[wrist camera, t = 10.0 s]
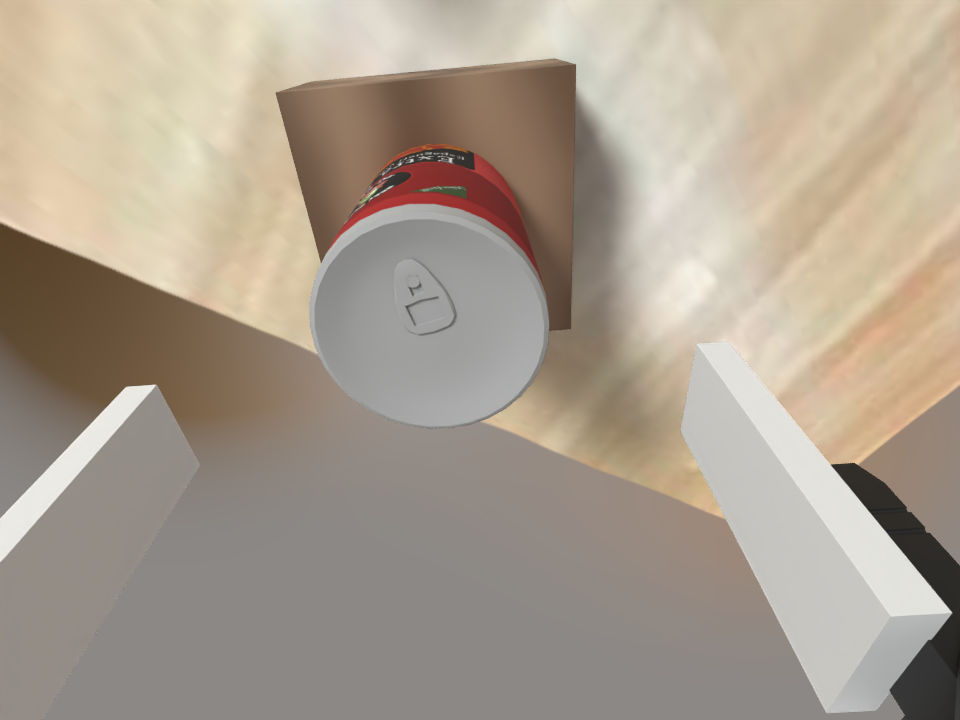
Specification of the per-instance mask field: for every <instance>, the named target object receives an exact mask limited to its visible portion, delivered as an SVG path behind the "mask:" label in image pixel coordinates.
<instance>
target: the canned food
mask: <svg viewBox="0 0 960 720" xmlns="http://www.w3.org/2000/svg"><path fill="white" fill-rule="evenodd" d="M309 308H310V328H311V333H312V337H313V341H314V345H315V348H316V350H317V352H318V354H319V356H320V359H321V361H322V363H323V365H324V367H325V368H326V369H327V371H328V372H329V374H330V375H331V377H332V378H333V379H334V381H335V382H336V384H338V385H339V386H340V387H341V388H342V389H343V390H344V391H345V392H346V393H347V394H348V395H349V396H350V397H351V398H352V399H353V400H355V401H356V402H358V403H359V404H361V405H362V406H363V407H365V408H366V409H368V410H369V411H371V412H373V413H375V414H378V415H380V416H382V417H384V418H386V419H388V420H391V421H394V422H398V423H401V424H404V425H408V426H413V427H421V428H428V429H438V428H439V429H441V428H442V429H443V428H455V427H461V426H466V425H471V424H474V423H477V422H479V421H482V420H485V419H488V418H490V417H492V416H494V415H495V414H497V413H499V412H501V411H502V410H504V409H506V408H507V407H508V406H510V405H511V404H512V403H513V402H514V401H516V400H517V399H518V398H519V397H520V396H521V395H522V394H523V393H524V392H525V390H526V389H527V388H528V387H529V386H530V384H531V383H532V382H533V381H534V379H535V377H536V375H537V373H538V371H539V369H540V367H541V365H542V363H543V360H544V357H545V353H546V349H547V346H548V337H549V312H548V306H547V300H546V294H545V290H544V287H543V284H542V278H541V275H540V272H539V269H538V266H537V263H536V260H535V257H534V254H533V251H532V248H531V245H530V242H529V238H528V235H527V232H526V229H525V226H524V223H523V220H522V217H521V214H520V211H519V208H518V205H517V203H516V200H515V197H514V195H513V192H512V190H511V189H510V187H509V185H508V184H507V182H506V181H505V179H504V177H503V176H502V175H501V174H500V173H499V172H498V171H497V170H496V169H495V168H494V167H493V166H492V165H491V164H490V163H489V162H487V161H486V160H484V159H483V158H482V157H480V156H479V155H477V154H475V153H473V152H471V151H468V150H466V149H464V148H461V147H456V146H452V145H447V144H427V145H423V146H418V147H414V148H411V149H409V150H407V151H405V152H403V153H401V154H398V155H397V156H395V157H394V158H393V159H392V160H390V161H389V162H388V163H387V164H385V165H384V167H383V168H382V169H381V170H380V172H379V173H378V174H377V175H376V177H375V178H374V179H373V181H372V182H371V184H370V185H369V187H368V189H367V190H366V192H365V193H364V195H363V196H362V198H361V199H360V201H359V202H358V204H357V205H356V207H355V208H354V210H353V211H352V213H351V214H350V216H349V217H348V219H347V221H346V222H345V224H344V225H343V227H342V228H341V230H340V231H339V233H338V234H337V236H336V237H335V239H334V240H333V242H332V245H331V246H330V248H329V250H328V251H327V253H326V255H325V257H324V259H323V261H322V263H321V265H320V267H319V270H318V272H317V274H316V279H315V281H314V284H313V289H312V294H311V299H310V303H309Z"/></svg>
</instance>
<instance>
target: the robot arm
mask: <svg viewBox="0 0 960 720" xmlns="http://www.w3.org/2000/svg"><path fill="white" fill-rule="evenodd" d="M680 432H681V434H682V436H683V438H684V439H685V441H686V443H687V445H688V447H689V449H690V451H691V453H692V455H693V457H694V459H695V461H696V463H697V465H698V466H699V468H700V470H701V472H702V474H703V476H704V478H705V480H706V482H707V484H708V486H709V488H710V490H711V491H712V493H713V495H714V497H715V499H716V501H717V503H718V505H719V507H720V509H721V511H722V513H723V515H724V517H725V518H726V520H727V522H728V524H729V526H730V528H731V530H732V532H733V534H734V536H735V538H736V540H737V542H738V544H739V545H740V547H741V549H742V551H743V553H744V555H745V557H746V559H747V561H748V563H749V565H750V567H751V568H752V570H753V572H754V574H755V576H756V578H757V580H758V582H759V584H760V586H761V588H762V590H763V592H764V594H765V596H766V597H767V599H768V601H769V603H770V605H771V607H772V609H773V611H774V613H775V615H776V617H777V619H778V621H779V623H780V624H781V626H782V628H783V630H784V632H785V634H786V636H787V638H788V640H789V642H790V644H791V646H792V647H793V650H794V651H795V653H796V655H797V657H798V659H799V661H800V663H801V665H802V667H803V669H804V671H805V673H806V675H807V677H808V678H809V680H810V682H811V684H812V686H813V688H814V690H815V692H816V694H817V696H818V697H819V700H820V702H821V703H822V705H823V707H824V709H825V711H826V713H836V712H856V711H874V710H877V709H878V707H879V706H880V705H881V703H882V702H883V701H884V700H885V698H886V697H887V696H888V695H889V693H890V692H891V694H892V695H893V697H894V699H895V700H896V702H897V703H898V705H899V706H900V708H901V710H902V711H903V713H904V714H905V716H904V717H903V719H902V720H960V566H959V564H958V563H957V562H956V561H955V560H954V559H953V558H952V557H951V556H950V554H949V553H948V552H947V551H946V550H945V549H944V548H943V547H942V546H941V545H940V543H939V542H938V541H937V540H936V539H935V538H934V537H933V536H932V535H931V534H930V533H927V532H926V531H925V527H924V526H923V525H922V524H921V523H920V521H919V520H918V519H917V518H916V517H915V516H914V515H913V514H912V513H911V512H907V509H906V508H907V507H906V506H905V505H904V504H903V503H902V502H901V500H900V499H899V498H898V497H897V496H896V495H895V494H894V493H893V492H892V491H891V489H890V488H889V487H888V486H887V485H886V484H885V483H884V482H882V481H881V480H879V479H878V478H876V477H875V476H873V475H872V474H870V473H869V472H867V471H866V470H864V469H863V468H861V467H860V466H858V465H857V464H855V463H848V464H833V465H830V464H829V462H828V461H827V460H826V459H825V458H824V456H823V455H822V454H821V453H820V451H819V450H818V449H817V448H816V447H815V445H814V444H813V443H812V442H811V441H810V439H809V438H808V437H807V436H806V434H805V433H804V432H803V431H802V430H801V428H800V427H799V426H798V425H797V423H796V422H795V421H794V420H793V419H792V417H791V416H790V415H789V414H788V413H787V411H786V410H785V409H784V408H783V406H782V405H781V404H780V403H779V402H778V400H777V399H776V398H775V397H774V396H773V394H772V393H771V392H770V391H769V389H768V388H767V387H766V386H765V385H764V383H763V382H762V381H761V380H760V379H759V377H758V376H757V375H756V374H755V372H754V371H753V370H752V369H751V368H750V366H749V365H748V364H747V363H746V361H745V360H744V359H743V358H742V357H741V355H740V354H739V353H738V352H737V351H736V349H735V348H734V347H733V346H732V344H731V343H730V342H716V343H703V344H696V349H695V355H694V360H693V365H692V371H691V376H690V382H689V387H688V393H687V398H686V404H685V409H684V414H683V420H682V425H681V431H680ZM199 466H200V464H199V463H198V461H197V459H196V457H195V455H194V453H193V451H192V450H191V448H190V446H189V444H188V443H187V440H186V438H185V436H184V435H183V433H182V431H181V429H180V427H179V425H178V424H177V422H176V420H175V418H174V416H173V414H172V412H171V410H170V409H169V407H168V405H167V403H166V401H165V399H164V397H163V396H162V394H161V392H160V390H159V388H158V386H157V385H147V386H133V387H126V388H125V389H124V390H123V391H122V392H121V393H120V394H119V395H118V396H117V397H116V398H115V399H114V400H113V401H112V403H111V404H110V405H109V406H108V407H107V408H106V409H105V410H104V411H103V412H102V413H101V414H100V415H99V416H98V417H97V418H96V419H95V420H94V421H93V423H92V424H90V425H89V426H88V428H87V429H86V430H85V431H84V432H83V433H82V434H81V435H80V436H79V437H78V438H77V439H76V440H75V441H74V442H73V443H72V444H71V445H70V446H69V448H67V450H65V452H64V453H63V454H62V455H61V456H60V457H59V458H58V459H57V460H56V461H55V462H54V463H53V464H52V465H51V466H50V467H49V468H48V469H47V470H46V471H45V472H44V473H43V475H42V476H41V477H40V478H39V479H38V480H37V481H36V482H35V483H34V484H33V485H32V486H31V487H30V488H29V489H28V490H27V491H26V492H25V493H24V494H23V495H22V496H21V498H20V499H19V500H18V501H17V502H16V503H15V504H14V505H13V506H12V507H11V508H10V509H9V510H8V511H7V512H6V513H5V514H4V515H3V516H2V517H1V518H0V720H43V718H44V716H45V715H46V713H47V711H48V710H49V708H50V707H51V705H52V703H53V702H54V700H55V699H56V697H57V695H58V694H59V692H60V690H61V689H62V687H63V686H64V684H65V682H66V681H67V679H68V677H69V676H70V674H71V673H72V671H73V670H74V668H75V666H76V665H77V663H78V661H79V660H80V658H81V657H82V655H83V653H84V652H85V650H86V648H87V647H88V645H89V644H90V642H91V640H92V639H93V637H94V635H95V634H96V632H97V631H98V629H99V627H100V626H101V624H102V623H103V621H104V619H105V618H106V616H107V615H108V613H109V611H110V610H111V608H112V606H113V605H114V603H115V602H116V600H117V598H118V597H119V595H120V593H121V592H122V590H123V589H124V587H125V585H126V584H127V582H128V581H129V579H130V577H131V576H132V574H133V572H134V571H135V569H136V567H137V566H138V564H139V563H140V561H141V560H142V558H143V556H144V555H145V553H146V552H147V550H148V548H149V547H150V545H151V543H152V542H153V540H154V539H155V537H156V535H157V534H158V532H159V531H160V529H161V527H162V526H163V524H164V522H165V521H166V519H167V517H168V516H169V514H170V513H171V511H172V510H173V508H174V506H175V505H176V503H177V501H178V500H179V498H180V497H181V495H182V493H183V492H184V490H185V488H186V487H187V485H188V484H189V482H190V480H191V479H192V477H193V475H194V474H195V472H196V471H197V469H198V467H199Z"/></svg>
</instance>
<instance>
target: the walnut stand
mask: <svg viewBox="0 0 960 720" xmlns="http://www.w3.org/2000/svg"><path fill="white" fill-rule="evenodd" d="M575 90H576V64H572V63H569V62H565V61H561V60H558V59H547V60H536V61H526V62H515V63H504V64H494V65H483V66H473V67H462V68H452V69H441V70H430V71H420V72H409V73H399V74H388V75H377V76H367V77H356V78H346V79H335V80H325V81H314V82H309V83H305V84H302V85H299V86H296V87H293V88H289V89H286V90H283V91H280V92H277V93H276V96H277V100H278V103H279V107H280V111H281V115H282V118H283V122H284V126H285V130H286V133H287V137H288V141H289V145H290V148H291V152H292V156H293V160H294V163H295V167H296V171H297V175H298V178H299V182H300V186H301V190H302V193H303V197H304V201H305V205H306V208H307V212H308V216H309V220H310V223H311V227H312V231H313V234H314V238H315V242H316V246H317V249H318V253H319V257H320V261H321V263H322V261H323V259H324V257H325V255H326V253H327V251H328V250H329V248H330V246H331V245H332V242H333V240H334V239H335V237H336V236H337V234H338V233H339V231H340V230H341V228H342V227H343V225H344V224H345V222H346V221H347V219H348V217H349V216H350V214H351V213H352V211H353V210H354V208H355V207H356V205H357V204H358V202H359V201H360V199H361V198H362V196H363V195H364V193H365V192H366V190H367V189H368V187H369V185H370V184H371V182H372V181H373V179H374V178H375V177H376V175H377V174H378V173H379V172H380V170H381V169H382V168H383V167H384V165H385V164H387V163H388V162H389V161H390V160H392V159H393V158H394V157H395V156H397V155H398V154H401V153H403V152H405V151H407V150H409V149H411V148H414V147H418V146H423V145H427V144H447V145H452V146H456V147H461V148H464V149H466V150H468V151H471V152H473V153H475V154H477V155H479V156H480V157H482V158H483V159H484V160H486V161H487V162H489V163H490V164H491V165H492V166H493V167H494V168H495V169H496V170H497V171H498V172H499V173H500V174H501V175H502V176H503V177H504V179H505V181H506V182H507V184H508V185H509V187H510V189H511V190H512V192H513V195H514V197H515V200H516V203H517V205H518V208H519V211H520V214H521V217H522V220H523V223H524V226H525V229H526V232H527V235H528V238H529V242H530V245H531V248H532V251H533V254H534V257H535V260H536V263H537V266H538V269H539V272H540V275H541V278H542V284H543V287H544V290H545V294H546V300H547V306H548V312H549V331H552V330H564V329H571V289H572V239H573V190H574V140H575Z"/></svg>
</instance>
